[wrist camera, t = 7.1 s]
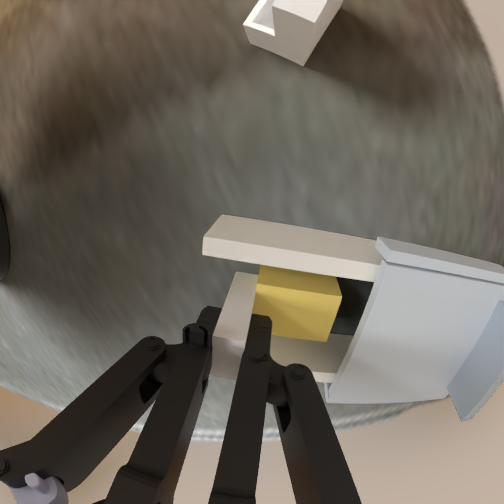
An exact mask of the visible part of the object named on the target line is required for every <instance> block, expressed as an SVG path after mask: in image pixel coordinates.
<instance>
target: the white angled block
mask: <svg viewBox="0 0 504 504" xmlns="http://www.w3.org/2000/svg"><path fill="white" fill-rule="evenodd" d="M342 2H343V0H260V1H259V2H258V3H257V5H256V6H255V8H254V9H253V10H252V12H251V13H250V15H249V16H248V18H247V19H246V21H245V22H244V23H243V26H244V29H245V32H246V34H247V37H248V40H249V42H250V44H253V45H255V46H258V47H260V48H263V49H265V50H268V51H270V52H273V53H275V54H277V55H280V56H282V57H284V58H286V59H289V60H291V61H293V62H295V63H297V64H299V65H301V66H304V65H305V63H306V61H307V60H308V58H309V56H310V55H311V53H312V51H313V50H314V48H315V46H316V45H317V43H318V42H319V40H320V38H321V37H322V35H323V34H324V32H325V30H326V29H327V27H328V26H329V24H330V22H331V21H332V19H333V18H334V16H335V15H336V13H337V12H338V10H339V9H340V7H341V5H342Z"/></svg>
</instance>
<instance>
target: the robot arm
mask: <svg viewBox="0 0 504 504" xmlns="http://www.w3.org/2000/svg"><path fill="white" fill-rule="evenodd" d="M8 267H9V240H8V233H7V227H6V222H5V217H4V213H3V209H2V205H1V202H0V280H1V279H3V278H4V277H5V276H6V274H7V271H8ZM257 280H258V275H255V274H249V273H244V272H238V271H236V273H235V276H234V278H233V281H232V284H231V287H230V289H229V292H228V295H227V297H226V300H225V303H224V306H223V308H217V307H211V306H207V307H206V308H204V309H203V310H202V311H201V313H200V316H199V318H198V320H197V322H196V323H193V324H189V325H187V326H185V327H184V328H183V343H181V344H175V345H166V343H165V342H164V340H162V339H161V338H159V337H156V336H149V337H145V338H144V339H142V340H141V341H139V342H138V343H137V344H136V345H135V346H134V347H133V348H132V349H131V350H129V351H128V352H127V353H126V354H125V355H124V356H123V357H122V358H120V359H119V360H118V361H117V362H116V363H115V364H114V365H113V366H111V367H110V368H109V369H108V370H107V371H106V372H105V373H104V374H103V375H101V376H100V377H99V378H98V379H97V380H96V381H95V382H94V383H93V384H91V385H90V386H89V387H88V388H87V389H86V390H85V391H84V392H83V393H82V394H80V395H79V396H78V397H77V398H76V399H75V400H74V401H73V402H72V403H70V404H69V405H68V406H67V407H66V408H65V409H64V410H63V411H62V412H61V413H59V414H58V415H57V416H56V417H55V418H54V419H53V420H52V421H51V422H50V423H49V424H47V425H46V426H45V427H44V428H43V429H42V430H41V431H40V432H39V433H38V434H37V435H36V436H34V437H33V438H32V439H31V440H29V441H26V442H24V443H21V444H18V445H15V446H12V447H10V448H7V449H4V450H1V451H0V481H2V482H3V483H5V484H6V485H8V486H9V488H10V490H11V492H12V494H13V496H14V498H15V500H16V502H17V504H68V495H67V492H69V491H71V490H72V489H74V488H76V487H77V486H78V485H80V484H81V483H82V482H83V481H84V480H85V479H86V478H87V477H88V476H89V475H90V474H91V472H92V471H93V470H94V469H95V468H96V467H97V466H98V464H100V462H101V461H102V460H103V459H104V458H105V457H106V456H107V455H108V454H109V452H110V451H111V450H112V449H113V448H114V447H115V446H116V445H117V443H118V442H119V441H120V440H121V439H122V438H123V437H124V435H125V434H126V433H127V432H128V431H129V430H130V429H131V428H132V426H133V425H134V424H135V423H136V422H137V421H138V419H139V418H140V417H141V416H142V415H143V414H144V413H145V411H146V410H147V409H148V408H149V407H150V406H151V404H152V403H153V402H154V401H155V400H156V401H155V403H154V405H153V407H152V410H151V412H150V414H149V416H148V419H147V421H146V423H145V425H144V427H143V430H142V432H141V434H140V436H139V439H138V441H137V443H136V446H135V448H134V450H133V452H132V455H131V457H130V460H129V461H128V463H127V464H126V465H124V466H122V467H121V468H120V469H119V470H118V472H117V474H116V477H115V479H114V481H113V483H112V486H111V488H110V491H109V493H108V495H107V497H106V499H103V500H101V501H98V502H95V503H93V504H173V499H174V498H173V497H174V493H175V489H176V486H177V483H178V479H179V476H180V473H181V470H182V466H183V463H184V460H185V457H186V453H187V450H188V447H189V444H190V440H191V437H192V434H193V431H194V427H195V424H196V421H197V418H198V414H199V411H200V408H201V405H202V401H203V398H204V395H205V392H206V388H207V385H208V377H209V373H210V375H214V376H219V377H224V378H229V379H234V380H237V381H236V386H235V390H234V395H233V399H232V404H231V409H230V413H229V418H228V422H227V427H226V431H225V436H224V440H223V445H222V449H221V453H220V458H219V462H218V467H217V471H216V475H215V480H214V484H213V488H212V492H211V494H210V498H209V502H208V504H256V499H255V491H256V484H257V477H258V468H259V461H260V453H261V444H262V436H263V427H264V418H265V409H266V402H268V403H270V404H273V407H274V412H275V416H276V420H277V425H278V429H279V433H280V438H281V442H282V446H283V450H284V454H285V459H286V463H287V467H288V471H289V475H290V479H291V484H292V487H293V492H294V495H295V500H296V504H362V503H361V501H360V498H359V495H358V492H357V489H356V487H355V484H354V482H353V479H352V476H351V473H350V471H349V468H348V465H347V462H346V460H345V457H344V455H343V452H342V449H341V446H340V444H339V441H338V439H337V436H336V433H335V431H334V428H333V425H332V423H331V420H330V418H329V415H328V412H327V410H326V407H325V404H324V402H323V399H322V397H321V394H320V392H319V389H318V386H317V384H316V381H315V379H314V376H313V374H312V372H311V370H310V369H309V368H308V367H307V366H305V365H303V364H299V363H293V364H289V365H288V366H286V367H285V366H283V365H280V364H278V363H277V362H275V361H274V360H273V359H272V358H271V355H270V345H271V333H272V320H271V319H270V317H269V316H265V315H259V314H253V313H252V311H253V305H254V299H255V293H256V286H257ZM210 370H211V372H210Z"/></svg>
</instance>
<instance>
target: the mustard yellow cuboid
mask: <svg viewBox="0 0 504 504" xmlns="http://www.w3.org/2000/svg"><path fill="white" fill-rule="evenodd" d="M341 299H342V294H341V291H340V288H339V285H338V282H337V279H336V276H330V275H323V274H317V273H311V272H304V271H298V270H292V269H285V268H279V267H273V266H267V265H260V270H259V275H258V280H257V286H256V293H255V299H254V305H253V311H252V313H253V314H259V315H265V316H269V317H270V319H271V320H272V333H271V335H276V336H283V337H290V338H297V339H305V340H313V341H322V342H326V341H327V339H328V336H329V333H330V331H331V328H332V325H333V322H334V320H335V317H336V314H337V311H338V308H339V305H340V302H341Z"/></svg>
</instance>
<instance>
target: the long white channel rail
mask: <svg viewBox="0 0 504 504" xmlns="http://www.w3.org/2000/svg"><path fill="white" fill-rule="evenodd" d="M375 244H376V240H371V239H366V238H361V237H355V236H350V235H345V234H339V233H334V232H328V231H323V230H317V229H311V228H306V227H300V226H294V225H288V224H282V223H276V222H270V221H263V220H257V219H251V218H244V217H237V216H231V215H224V214H222V215H221V216H220V217H219V218H218V219H217V221H216V222H215V223H214V224H213V225H212V227H211V228H210V229H209V230H208V231H207V233H206V234H205V235H204V236H203V249H202V255H206V256H212V257H218V258H224V259H230V260H236V261H242V262H248V263H255V264H261V265H267V266H273V267H279V268H285V269H292V270H298V271H304V272H311V273H317V274H323V275H330V276H336V277H343V278H349V279H356V280H362V281H369V282H375V279H376V276H377V273H378V270H379V267H380V264H381V261H382V259H384V257H383V256H382V255H381V254H380V252H379V251H378V250H377V249H376V247H375ZM353 337H354V336H352V335H342V334H333V333H329V336H328V339H327V341H326V342H322V341H313V340H305V339H297V338H290V337H283V336H276V335H271V345H270V355H271V358H272V359H273V360H274V361H275V362H277V363H278V364H280V365H283V366H285V367H286V366H288V365H289V364H293V363H299V364H303V365H305V366H307V367H308V368H309V369H310V370H311V372H312V374H313V376H314V379H315V381H316V382H326V383H332V382H333V380H334V378H335V376H336V374H337V372H338V370H339V368H340V366H341V364H342V361H343V359H344V357H345V355H346V353H347V351H348V348H349V346H350V344H351V341H352V339H353Z"/></svg>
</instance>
